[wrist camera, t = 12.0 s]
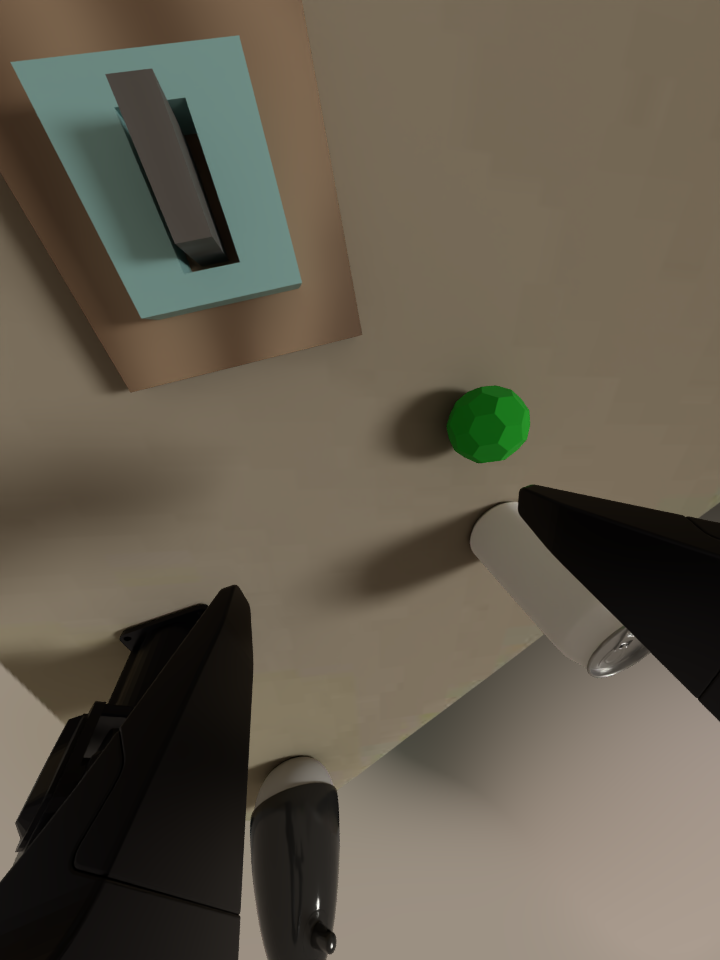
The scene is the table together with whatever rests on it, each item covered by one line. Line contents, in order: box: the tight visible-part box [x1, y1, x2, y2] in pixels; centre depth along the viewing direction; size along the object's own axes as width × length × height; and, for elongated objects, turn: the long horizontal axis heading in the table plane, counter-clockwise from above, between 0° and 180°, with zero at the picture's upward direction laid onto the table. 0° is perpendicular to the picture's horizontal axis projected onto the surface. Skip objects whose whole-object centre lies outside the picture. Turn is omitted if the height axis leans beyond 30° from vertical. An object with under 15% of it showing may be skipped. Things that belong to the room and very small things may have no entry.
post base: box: [0, 0, 362, 392], centre depth 11 cm, size 12×12×6 cm
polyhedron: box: [446, 386, 530, 463], centre depth 19 cm, size 5×5×5 cm
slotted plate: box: [11, 35, 302, 320], centre depth 11 cm, size 7×7×2 cm
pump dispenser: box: [250, 757, 340, 960], centre depth 32 cm, size 10×10×15 cm
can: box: [470, 502, 650, 678], centre depth 23 cm, size 6×6×12 cm
